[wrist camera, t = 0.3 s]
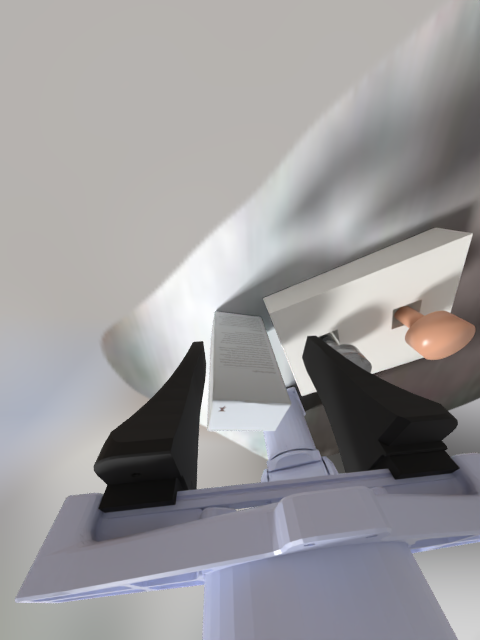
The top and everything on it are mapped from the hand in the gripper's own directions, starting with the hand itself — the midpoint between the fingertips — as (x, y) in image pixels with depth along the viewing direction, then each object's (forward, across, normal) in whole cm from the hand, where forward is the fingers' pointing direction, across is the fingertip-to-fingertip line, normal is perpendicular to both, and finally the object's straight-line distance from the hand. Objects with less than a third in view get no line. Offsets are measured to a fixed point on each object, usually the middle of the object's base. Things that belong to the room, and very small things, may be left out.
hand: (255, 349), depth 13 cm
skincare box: (+10, +1, +5) cm, 12 cm away
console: (+10, -14, +5) cm, 18 cm away
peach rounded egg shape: (+7, -18, +2) cm, 20 cm away
